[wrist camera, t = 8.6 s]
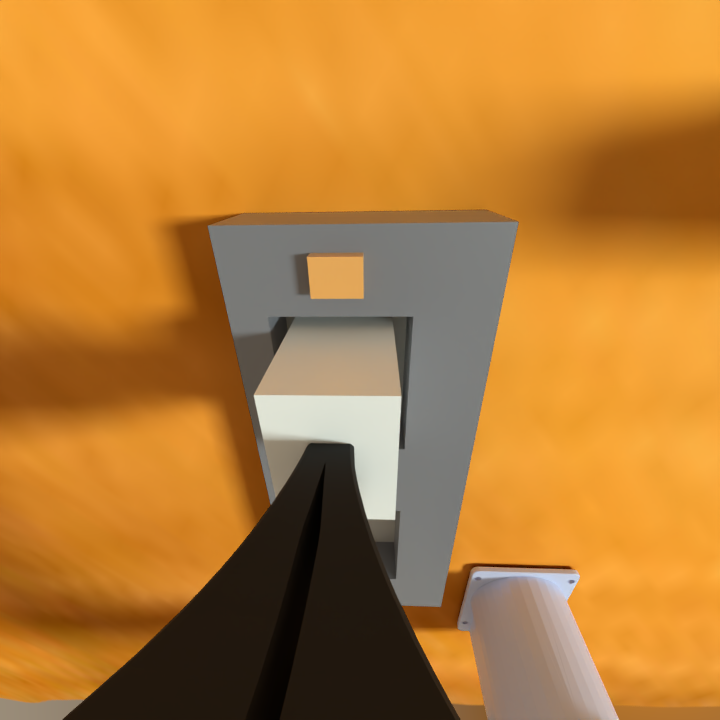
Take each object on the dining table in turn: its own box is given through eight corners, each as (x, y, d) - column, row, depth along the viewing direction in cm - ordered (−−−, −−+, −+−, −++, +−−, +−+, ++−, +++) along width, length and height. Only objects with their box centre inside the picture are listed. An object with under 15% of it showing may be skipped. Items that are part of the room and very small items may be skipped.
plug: (388, 403, 17) (394, 519, 12) (311, 402, 17) (279, 517, 12) (391, 307, 15) (401, 396, 9) (300, 307, 15) (253, 394, 9)
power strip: (433, 554, 26) (442, 617, 22) (302, 550, 26) (290, 611, 22) (486, 209, 14) (525, 224, 10) (243, 213, 14) (199, 228, 10)
